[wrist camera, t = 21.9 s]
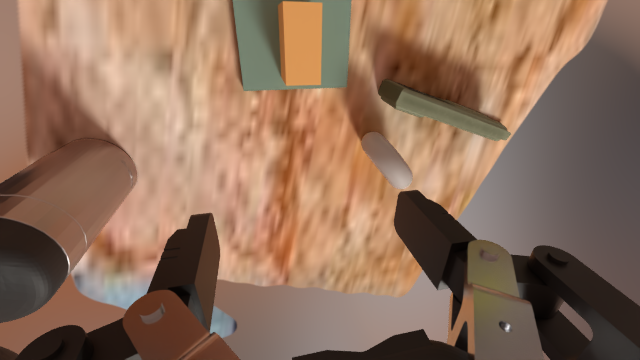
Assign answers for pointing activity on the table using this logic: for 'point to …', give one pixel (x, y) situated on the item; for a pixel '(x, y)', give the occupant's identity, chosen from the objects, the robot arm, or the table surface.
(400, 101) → the handheld radio
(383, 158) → the donut
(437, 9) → the table surface
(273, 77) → the green mat
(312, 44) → the orange block
